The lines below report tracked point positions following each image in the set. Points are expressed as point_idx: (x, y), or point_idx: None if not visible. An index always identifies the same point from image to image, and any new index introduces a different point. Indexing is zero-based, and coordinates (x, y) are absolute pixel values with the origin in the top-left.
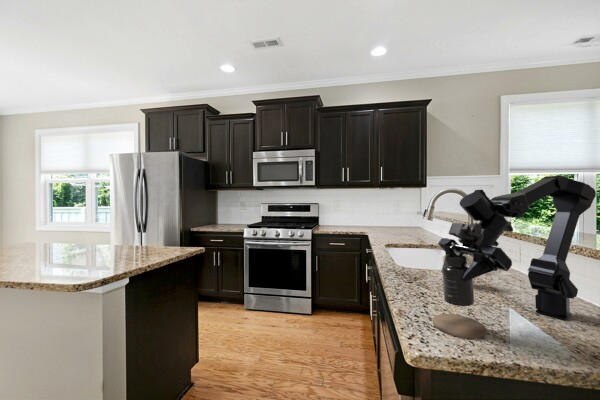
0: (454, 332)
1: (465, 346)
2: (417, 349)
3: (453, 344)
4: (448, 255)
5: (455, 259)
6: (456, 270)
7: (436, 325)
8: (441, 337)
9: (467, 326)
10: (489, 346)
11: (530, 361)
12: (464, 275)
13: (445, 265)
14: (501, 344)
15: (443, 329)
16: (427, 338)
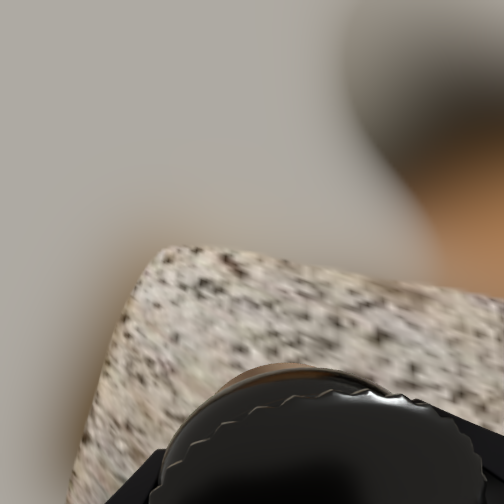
0: (218, 391)
1: (163, 385)
2: (171, 256)
3: (177, 359)
4: (469, 469)
5: (175, 463)
6: (182, 432)
7: (279, 363)
8: (218, 348)
9: None
10: None
11: (91, 478)
12: (147, 468)
13: None
14: None
15: (248, 371)
16: (217, 305)
